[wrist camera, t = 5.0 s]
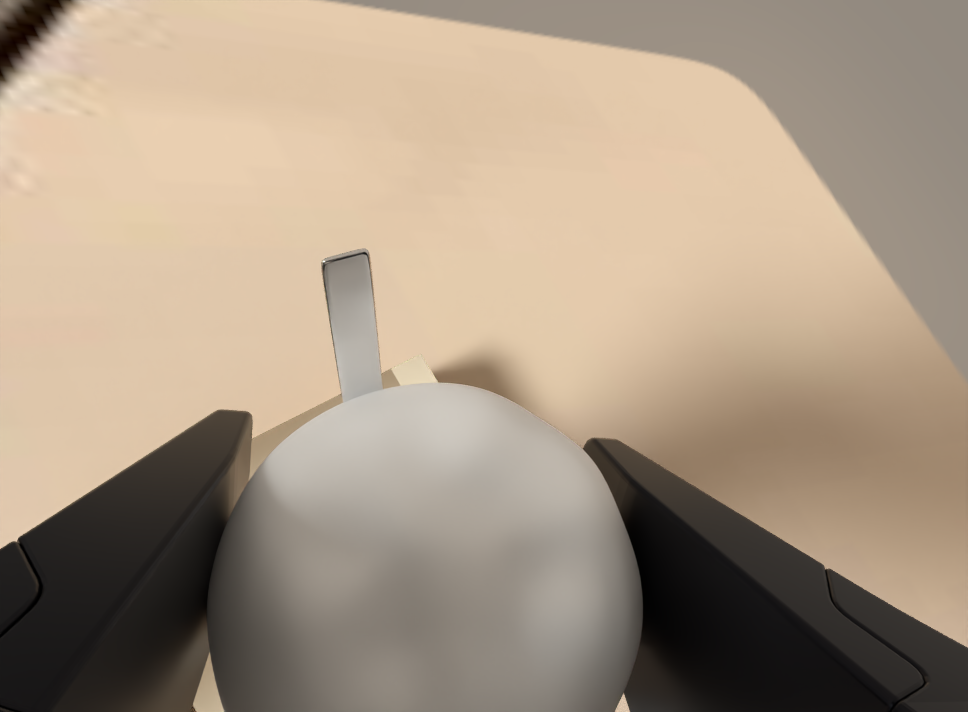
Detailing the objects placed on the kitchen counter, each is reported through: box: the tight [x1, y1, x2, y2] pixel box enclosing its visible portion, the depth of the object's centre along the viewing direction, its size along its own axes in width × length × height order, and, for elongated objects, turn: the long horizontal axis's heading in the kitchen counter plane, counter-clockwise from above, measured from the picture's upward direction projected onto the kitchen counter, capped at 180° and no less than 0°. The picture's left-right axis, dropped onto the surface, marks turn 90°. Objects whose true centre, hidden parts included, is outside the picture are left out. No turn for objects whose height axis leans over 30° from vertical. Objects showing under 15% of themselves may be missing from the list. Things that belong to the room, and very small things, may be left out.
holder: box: [193, 354, 438, 712], centre depth 19 cm, size 9×9×2 cm
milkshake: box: [207, 249, 643, 712], centre depth 10 cm, size 4×5×10 cm
